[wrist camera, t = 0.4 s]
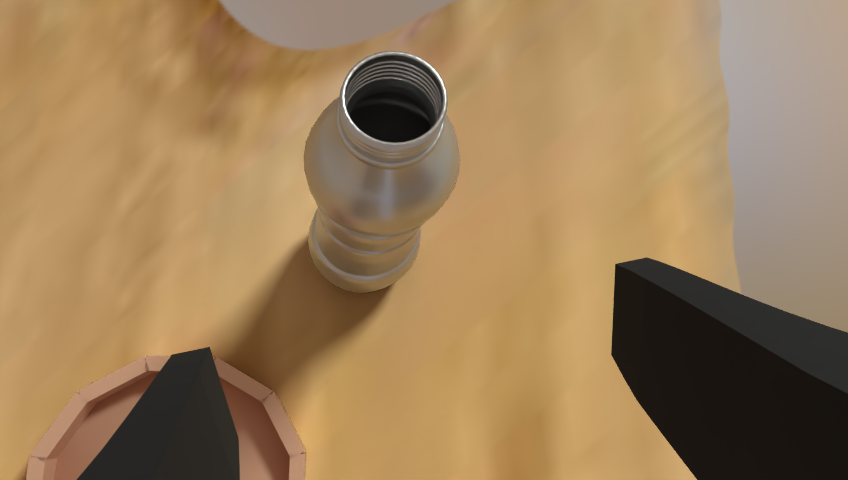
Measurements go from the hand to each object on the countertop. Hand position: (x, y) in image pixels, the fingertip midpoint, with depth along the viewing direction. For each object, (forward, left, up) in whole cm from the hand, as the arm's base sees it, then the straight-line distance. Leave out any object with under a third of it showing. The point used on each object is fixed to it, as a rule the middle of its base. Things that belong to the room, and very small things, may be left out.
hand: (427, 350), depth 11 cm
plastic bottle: (+9, 0, -28) cm, 30 cm away
